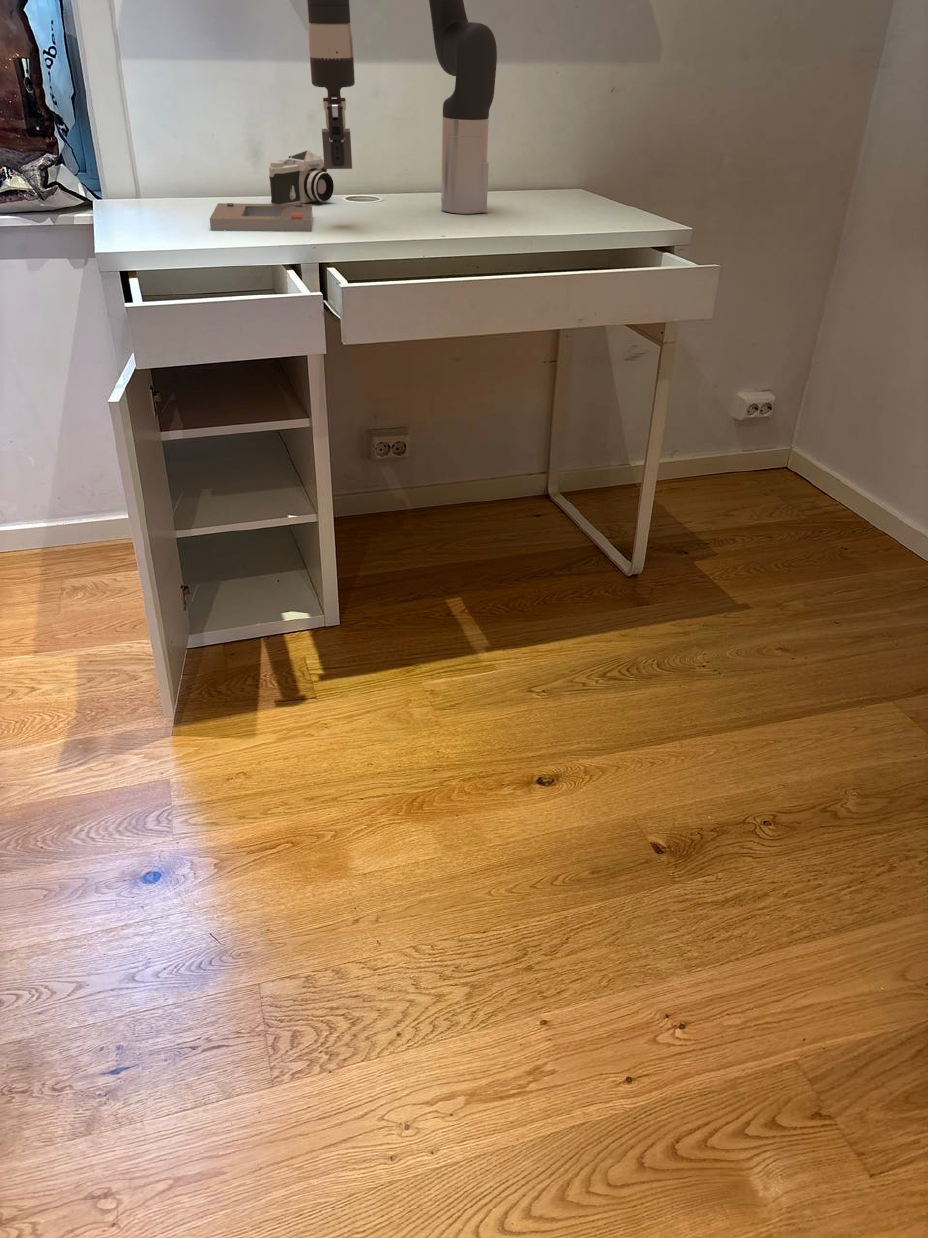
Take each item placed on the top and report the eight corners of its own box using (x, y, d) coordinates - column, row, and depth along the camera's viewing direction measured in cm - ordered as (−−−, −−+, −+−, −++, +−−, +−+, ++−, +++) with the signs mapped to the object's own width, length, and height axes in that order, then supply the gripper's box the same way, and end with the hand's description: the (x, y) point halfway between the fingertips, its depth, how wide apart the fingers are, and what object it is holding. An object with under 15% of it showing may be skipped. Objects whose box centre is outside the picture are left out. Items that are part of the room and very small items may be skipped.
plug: (351, 164, 174) (349, 118, 169) (352, 168, 170) (349, 122, 166) (324, 164, 173) (321, 119, 169) (324, 168, 169) (321, 122, 165)
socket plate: (312, 217, 185) (311, 200, 183) (311, 234, 172) (310, 215, 170) (219, 216, 182) (217, 199, 181) (211, 233, 170) (209, 214, 168)
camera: (294, 210, 191) (291, 156, 185) (264, 205, 195) (259, 151, 189) (346, 200, 202) (344, 149, 196) (316, 195, 206) (313, 144, 200)
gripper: (354, 57, 156) (359, 169, 166) (352, 51, 168) (357, 157, 177) (309, 57, 155) (317, 170, 165) (310, 51, 167) (317, 157, 177)
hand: (338, 162), depth 171 cm, fingers closed on plug, 4 cm apart
